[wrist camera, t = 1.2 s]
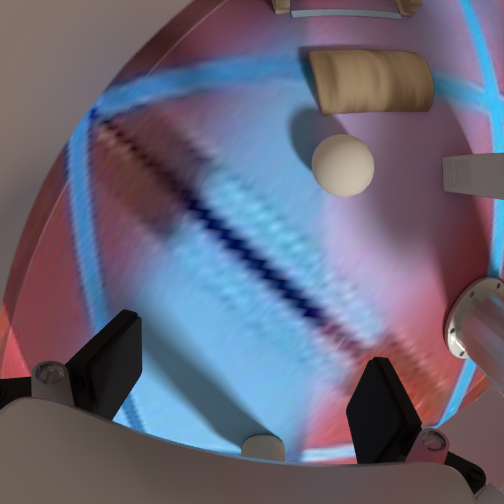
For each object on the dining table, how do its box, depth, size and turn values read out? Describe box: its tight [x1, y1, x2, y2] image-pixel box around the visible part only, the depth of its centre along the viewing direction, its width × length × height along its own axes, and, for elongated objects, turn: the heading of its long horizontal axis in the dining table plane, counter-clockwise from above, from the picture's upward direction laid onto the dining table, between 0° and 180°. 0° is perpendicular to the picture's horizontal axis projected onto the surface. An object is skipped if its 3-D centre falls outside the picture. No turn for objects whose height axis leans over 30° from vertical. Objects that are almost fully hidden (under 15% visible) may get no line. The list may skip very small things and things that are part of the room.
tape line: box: [291, 9, 402, 20], centre depth 23 cm, size 14×1×1 cm, turn 100°
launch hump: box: [307, 50, 434, 115], centre depth 26 cm, size 13×8×8 cm, turn 100°
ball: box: [312, 134, 374, 197], centre depth 25 cm, size 6×6×6 cm
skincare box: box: [442, 153, 504, 200], centre depth 21 cm, size 6×4×12 cm
